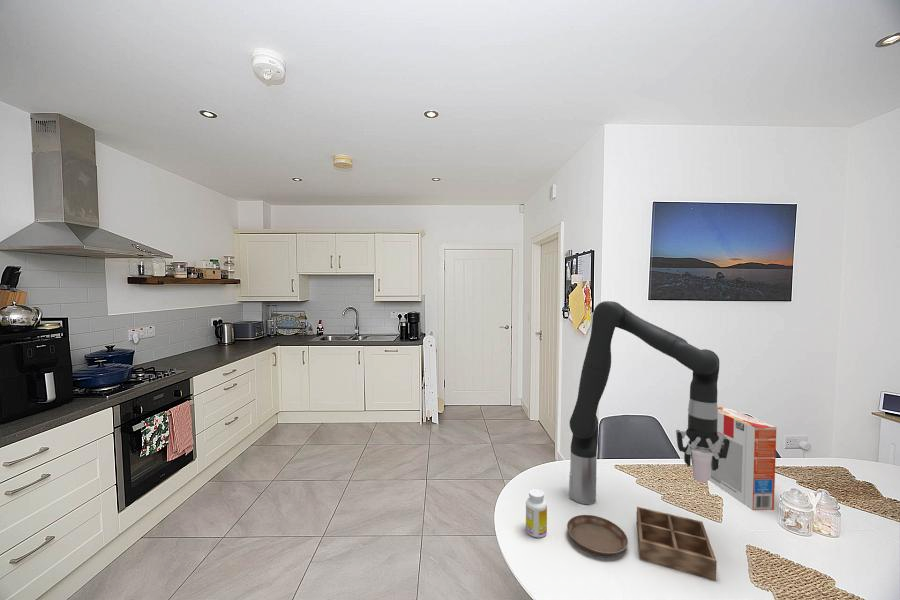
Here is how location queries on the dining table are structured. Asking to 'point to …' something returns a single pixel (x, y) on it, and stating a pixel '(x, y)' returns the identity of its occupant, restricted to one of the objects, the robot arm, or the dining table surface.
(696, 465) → the smoothie
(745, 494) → the white and orange box
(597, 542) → the plant saucer
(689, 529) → the bottle caddy
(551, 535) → the dining table surface
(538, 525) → the supplement bottle
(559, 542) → the dining table surface
